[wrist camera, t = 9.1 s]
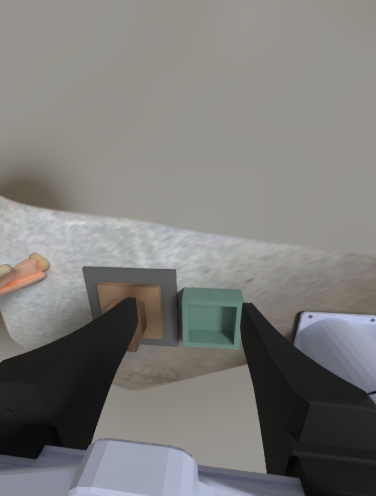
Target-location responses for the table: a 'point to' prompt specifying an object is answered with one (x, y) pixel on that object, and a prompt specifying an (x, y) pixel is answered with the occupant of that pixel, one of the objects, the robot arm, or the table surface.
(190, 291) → the green storage tray
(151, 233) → the table surface
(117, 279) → the mat
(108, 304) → the lid
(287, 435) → the robot arm
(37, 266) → the grandmother figurine
